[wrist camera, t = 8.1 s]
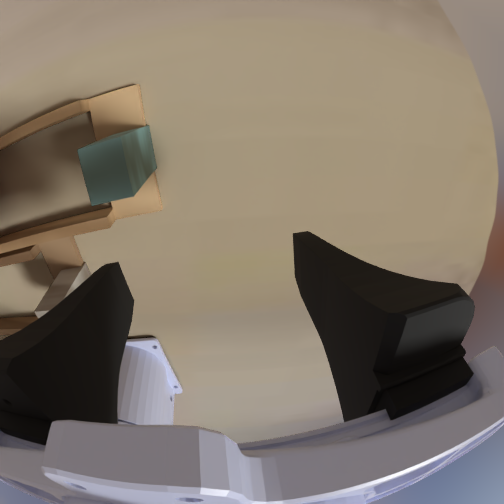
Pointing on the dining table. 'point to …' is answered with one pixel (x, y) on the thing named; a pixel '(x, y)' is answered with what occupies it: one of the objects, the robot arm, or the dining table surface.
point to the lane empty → (62, 269)
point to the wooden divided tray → (100, 166)
